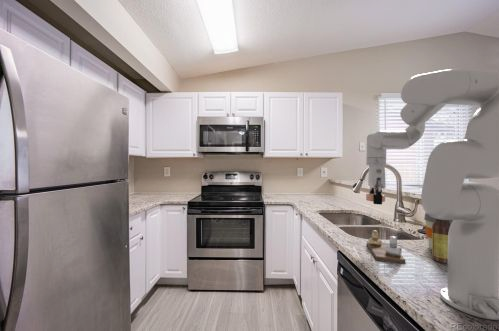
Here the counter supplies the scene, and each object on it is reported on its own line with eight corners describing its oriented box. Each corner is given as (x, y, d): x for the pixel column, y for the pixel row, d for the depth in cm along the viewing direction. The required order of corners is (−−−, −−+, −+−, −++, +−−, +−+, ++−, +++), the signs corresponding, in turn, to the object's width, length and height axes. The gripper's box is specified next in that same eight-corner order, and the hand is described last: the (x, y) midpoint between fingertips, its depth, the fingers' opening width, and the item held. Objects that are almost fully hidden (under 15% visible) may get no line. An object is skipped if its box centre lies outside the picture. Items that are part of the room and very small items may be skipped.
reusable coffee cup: (446, 245, 104) (447, 212, 104) (470, 256, 92) (471, 218, 92) (417, 244, 105) (417, 211, 105) (437, 254, 93) (437, 217, 93)
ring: (386, 202, 95) (386, 196, 95) (368, 201, 97) (368, 195, 97) (382, 199, 102) (382, 194, 102) (365, 198, 104) (365, 193, 104)
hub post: (382, 247, 97) (383, 232, 97) (369, 245, 98) (369, 231, 98) (379, 243, 102) (380, 229, 102) (367, 242, 103) (367, 228, 103)
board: (405, 263, 84) (405, 259, 84) (376, 260, 87) (376, 256, 87) (390, 246, 101) (390, 243, 101) (366, 244, 104) (367, 241, 104)
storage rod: (402, 258, 85) (403, 239, 85) (387, 256, 87) (387, 238, 87) (398, 253, 90) (398, 235, 90) (384, 251, 91) (384, 234, 91)
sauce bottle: (457, 265, 83) (458, 210, 83) (438, 263, 84) (438, 209, 84) (446, 258, 90) (446, 207, 89) (428, 256, 91) (428, 206, 91)
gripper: (391, 161, 90) (391, 206, 90) (380, 162, 107) (380, 200, 107) (370, 161, 92) (370, 205, 93) (362, 162, 109) (362, 199, 109)
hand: (375, 202), depth 100 cm, fingers closed on ring, 7 cm apart
